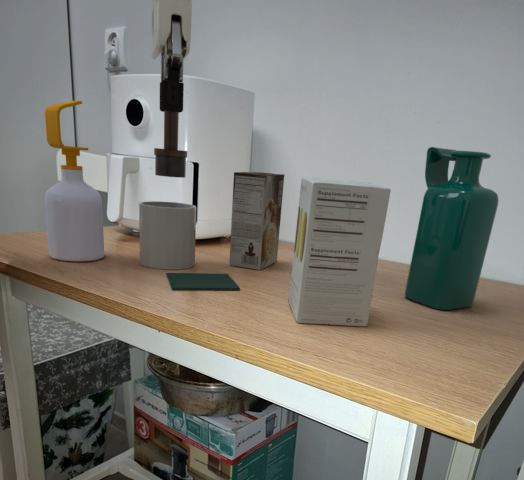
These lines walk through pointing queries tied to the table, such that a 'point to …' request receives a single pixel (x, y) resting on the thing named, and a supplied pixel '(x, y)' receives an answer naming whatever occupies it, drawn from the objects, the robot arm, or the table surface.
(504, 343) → the table surface
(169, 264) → the tumbler
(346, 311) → the supplement box
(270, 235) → the coffee box
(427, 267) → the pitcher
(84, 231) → the soap bottle
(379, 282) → the table surface
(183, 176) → the brush
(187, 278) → the mat
